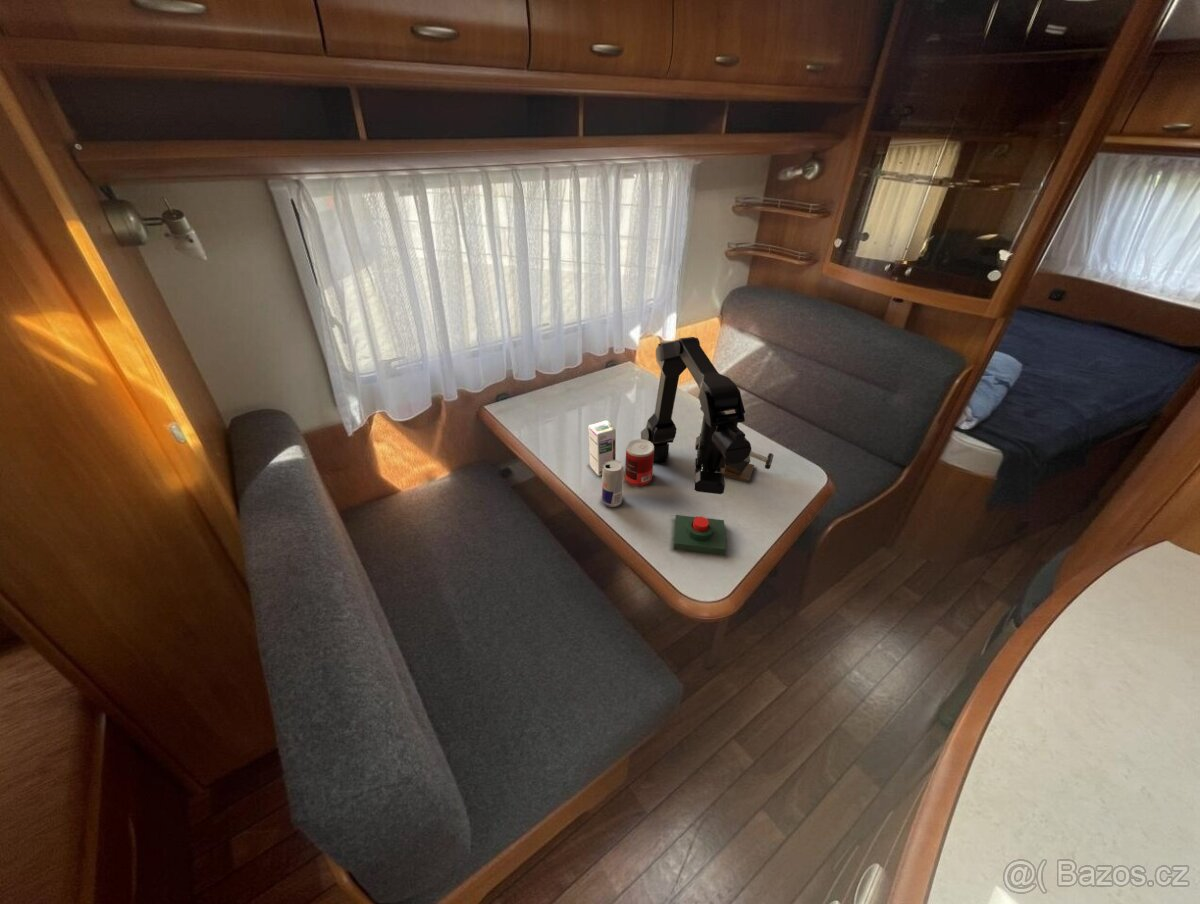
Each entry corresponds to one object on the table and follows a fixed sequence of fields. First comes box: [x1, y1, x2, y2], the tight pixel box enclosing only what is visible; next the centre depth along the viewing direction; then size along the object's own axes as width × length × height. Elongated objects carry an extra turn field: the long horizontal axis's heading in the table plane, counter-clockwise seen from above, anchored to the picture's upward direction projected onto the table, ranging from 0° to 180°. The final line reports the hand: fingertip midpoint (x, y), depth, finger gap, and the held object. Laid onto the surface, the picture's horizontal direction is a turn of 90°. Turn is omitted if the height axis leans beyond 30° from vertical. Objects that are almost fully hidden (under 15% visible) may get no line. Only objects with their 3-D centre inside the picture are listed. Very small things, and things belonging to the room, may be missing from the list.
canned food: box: [624, 438, 654, 487], centre depth 134 cm, size 8×8×11 cm
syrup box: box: [588, 420, 617, 477], centre depth 137 cm, size 6×6×14 cm
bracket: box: [721, 463, 755, 483], centre depth 137 cm, size 10×8×10 cm
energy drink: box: [601, 459, 624, 508], centre depth 125 cm, size 5×5×12 cm
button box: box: [672, 514, 727, 556], centre depth 116 cm, size 12×10×4 cm
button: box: [693, 516, 709, 532], centre depth 115 cm, size 4×4×2 cm
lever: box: [750, 450, 774, 470], centre depth 134 cm, size 11×6×2 cm, turn 65°
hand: (704, 491), depth 114 cm, fingers closed
